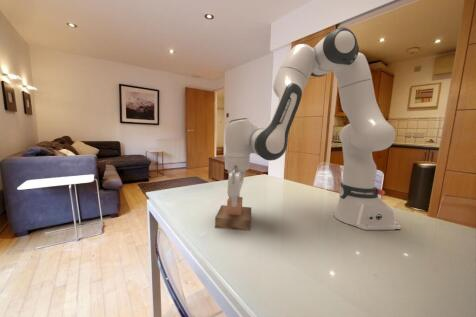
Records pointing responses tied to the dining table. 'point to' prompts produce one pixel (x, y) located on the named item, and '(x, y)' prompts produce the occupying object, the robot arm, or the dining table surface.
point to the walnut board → (233, 219)
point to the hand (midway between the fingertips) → (235, 201)
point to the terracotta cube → (234, 210)
